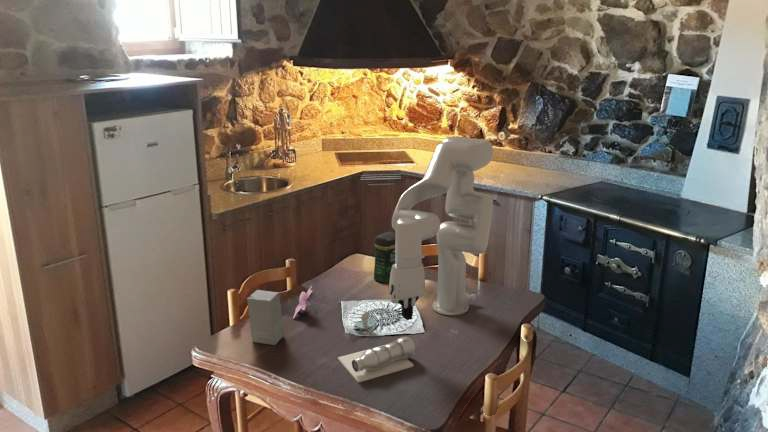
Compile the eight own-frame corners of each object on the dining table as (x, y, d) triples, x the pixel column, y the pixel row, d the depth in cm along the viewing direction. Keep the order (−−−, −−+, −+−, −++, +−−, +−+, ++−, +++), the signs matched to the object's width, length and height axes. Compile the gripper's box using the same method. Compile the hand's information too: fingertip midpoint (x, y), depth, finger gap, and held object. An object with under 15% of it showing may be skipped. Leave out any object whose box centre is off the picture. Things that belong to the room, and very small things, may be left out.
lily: (305, 305, 219) (291, 285, 215) (332, 298, 214) (318, 278, 210) (293, 329, 210) (278, 309, 206) (321, 323, 205) (306, 302, 201)
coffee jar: (386, 285, 234) (387, 239, 228) (370, 280, 238) (370, 235, 232) (401, 277, 241) (402, 232, 235) (385, 272, 246) (385, 228, 240)
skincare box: (284, 336, 195) (282, 291, 191) (273, 347, 189) (270, 300, 184) (261, 332, 198) (258, 287, 193) (249, 342, 192) (246, 296, 187)
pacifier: (348, 329, 201) (362, 334, 197) (347, 311, 199) (361, 317, 195) (363, 321, 206) (377, 326, 202) (363, 304, 204) (376, 309, 201)
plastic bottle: (402, 336, 186) (346, 356, 176) (414, 333, 181) (356, 353, 170) (409, 356, 185) (353, 378, 175) (421, 354, 180) (363, 376, 169)
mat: (390, 345, 191) (390, 343, 190) (413, 366, 179) (413, 364, 179) (337, 359, 183) (337, 357, 182) (357, 382, 171) (357, 380, 171)
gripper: (423, 251, 183) (422, 307, 188) (379, 260, 176) (378, 318, 181) (437, 260, 176) (435, 317, 182) (391, 269, 170) (391, 328, 175)
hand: (407, 317), depth 182 cm, fingers closed
